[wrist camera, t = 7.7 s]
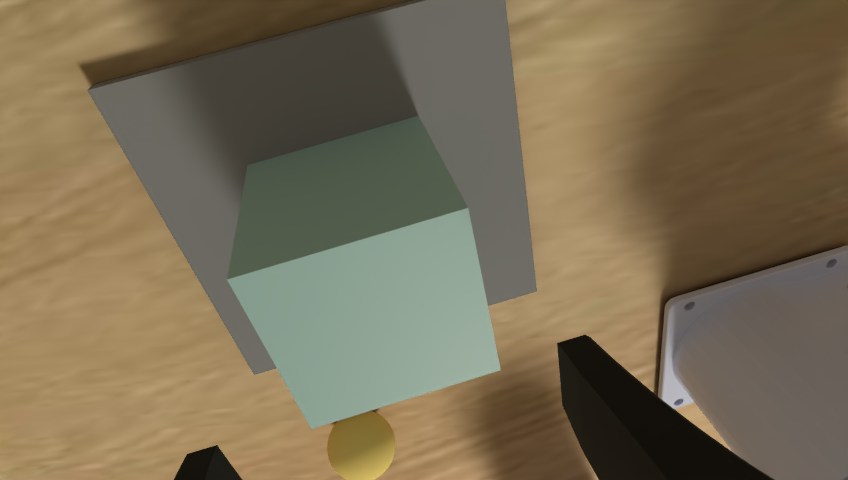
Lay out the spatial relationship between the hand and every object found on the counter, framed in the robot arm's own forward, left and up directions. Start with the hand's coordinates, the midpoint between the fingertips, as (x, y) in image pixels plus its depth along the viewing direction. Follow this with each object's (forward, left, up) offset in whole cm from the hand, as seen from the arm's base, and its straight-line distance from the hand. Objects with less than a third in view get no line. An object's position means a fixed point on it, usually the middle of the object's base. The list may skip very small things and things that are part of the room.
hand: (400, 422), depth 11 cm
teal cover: (0, 0, -9) cm, 9 cm away
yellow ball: (+3, +11, -9) cm, 15 cm away
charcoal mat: (0, 0, -9) cm, 9 cm away
